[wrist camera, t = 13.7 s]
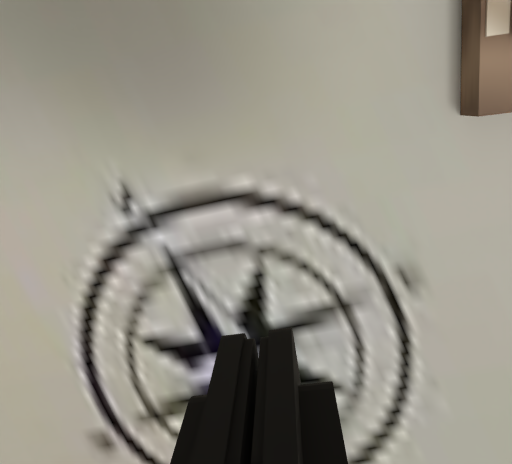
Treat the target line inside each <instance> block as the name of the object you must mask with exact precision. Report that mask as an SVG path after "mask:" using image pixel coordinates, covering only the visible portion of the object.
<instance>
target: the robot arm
mask: <svg viewBox="0 0 512 464" xmlns="http://www.w3.org/2000/svg"><path fill="white" fill-rule="evenodd" d="M170 464H348V461H347V456H346V450H345V445H344V440H343V435H342V429H341V424H340V419H339V413H338V408H337V403H336V397H335V392H334V387H333V382H322V383H313V384H303V385H301V381H300V375H299V368H298V362H297V356H296V350H295V343H294V337H293V331H292V328H284V329H276V330H269V335H268V337H261V339H260V351H259V358H258V353H257V347H256V343H255V339H254V338H253V339H247V337H246V335H245V333H243V334H234V335H226V336H222V337H221V340H220V344H219V348H218V352H217V356H216V360H215V364H214V368H213V373H212V377H211V381H210V385H209V389H208V393H207V395H199V396H192V397H191V398H190V400H189V403H188V406H187V409H186V412H185V416H184V419H183V422H182V426H181V429H180V432H179V436H178V439H177V442H176V446H175V449H174V453H173V456H172V459H171V463H170Z"/></svg>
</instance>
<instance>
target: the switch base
mask: <svg viewBox="0 0 512 464" xmlns="http://www.w3.org/2000/svg"><path fill="white" fill-rule="evenodd" d="M510 112H512V0H462V52H461V115H466V116H486V115H494V114H502V113H510Z"/></svg>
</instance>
